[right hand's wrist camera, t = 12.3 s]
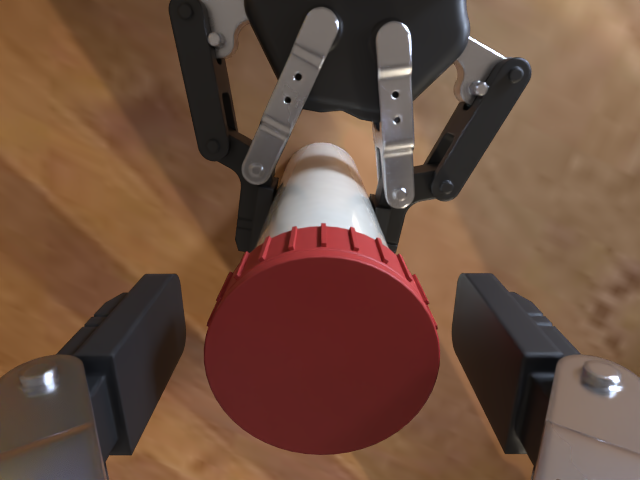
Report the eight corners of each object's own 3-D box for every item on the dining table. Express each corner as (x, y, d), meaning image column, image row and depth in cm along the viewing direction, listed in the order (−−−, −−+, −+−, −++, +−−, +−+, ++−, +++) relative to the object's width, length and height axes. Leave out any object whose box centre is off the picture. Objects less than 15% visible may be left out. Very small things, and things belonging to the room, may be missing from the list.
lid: (400, 411, 12) (413, 469, 10) (213, 389, 11) (194, 444, 10) (445, 238, 10) (471, 271, 8) (227, 207, 10) (206, 235, 8)
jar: (351, 220, 26) (398, 441, 10) (279, 210, 26) (215, 419, 10) (364, 148, 25) (443, 275, 9) (288, 137, 24) (229, 246, 9)
